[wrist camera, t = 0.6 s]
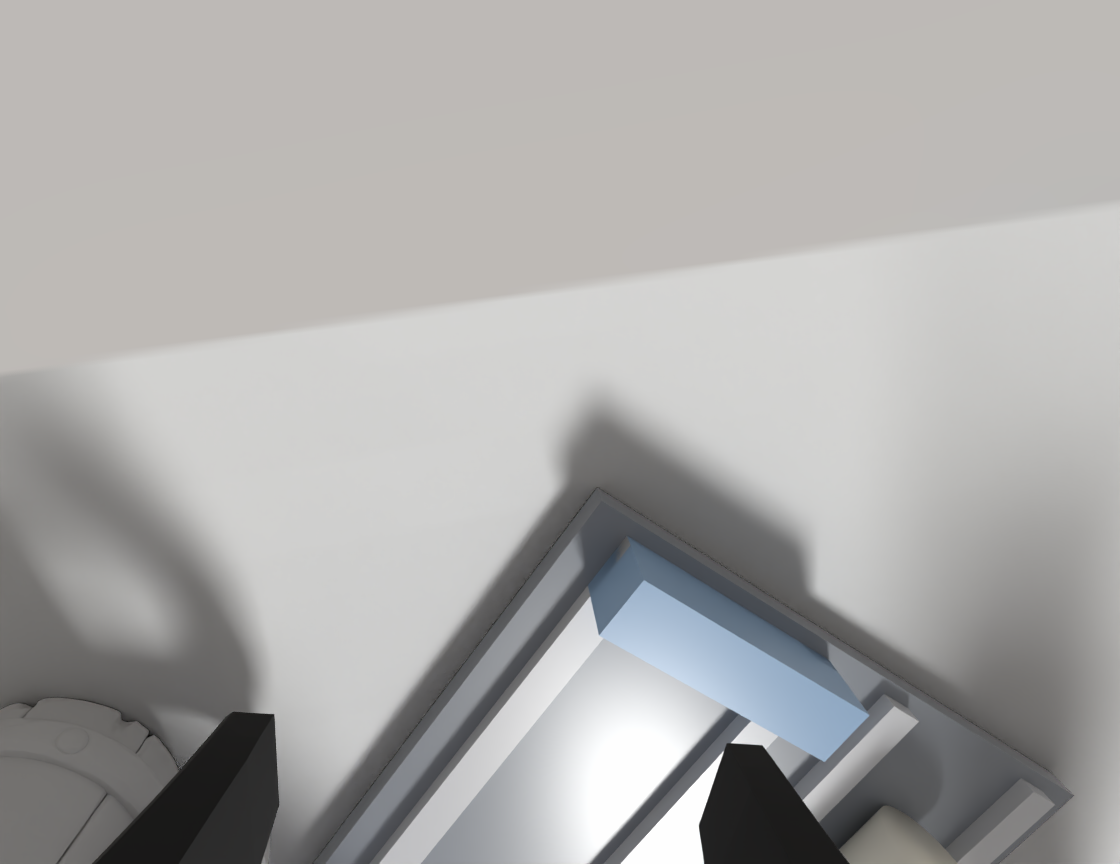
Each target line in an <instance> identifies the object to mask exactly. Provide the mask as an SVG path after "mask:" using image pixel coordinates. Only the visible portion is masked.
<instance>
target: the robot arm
mask: <svg viewBox="0 0 1120 864" xmlns="http://www.w3.org/2000/svg"><path fill="white" fill-rule="evenodd" d="M278 807H279V794H278V775H277V756H276V738H275V719H274V714H259V713H243V712H232V713H231V714H229V715H228V716H227V717H225V719H224V720H223V721H222V722H221V723H220V724H219V726H218V727H217V728H216V729H215V730H214V732H213V733H212V734H211V735H210V736H209V737H208V739H207V740H206V741H205V742H204V743H203V744H202V745H201V747H200V748H199V749H198V750H197V751H196V752H195V753H194V755H193V756H192V757H191V758H190V759H189V760H188V761H187V763H186V764H185V765H184V766H183V767H182V768H181V769H180V770H179V772H178V773H177V774H176V775H175V776H174V777H173V778H172V779H171V780H170V781H169V783H168V784H167V785H166V786H165V787H164V788H163V789H162V790H161V791H160V793H159V794H158V795H157V796H156V797H155V798H154V799H153V800H152V801H151V802H150V803H149V804H148V805H147V807H146V808H145V809H144V810H143V811H142V812H141V813H140V814H139V815H138V816H137V817H136V818H135V819H134V820H133V821H132V822H131V823H130V824H129V825H128V827H127V828H126V829H125V830H124V831H123V832H122V833H121V834H120V835H119V836H118V837H117V838H116V839H115V840H114V841H113V842H112V843H111V844H110V845H109V847H108V848H107V849H106V850H105V851H104V852H103V853H102V854H101V855H100V856H99V857H98V858H97V859H96V860H95V861H94V862H93V863H92V864H261V863H262V860H263V856H264V853H265V850H266V847H267V844H268V840H269V837H270V834H271V830H272V827H273V823H274V820H275V817H276V813H277V810H278ZM699 832H700V839H701V845H702V852H703V859H704V864H850V863H849V862H848V861H847V860H846V858H845V857H844V856H843V854H842V853H841V852H840V850H839V849H838V848H837V846H836V845H835V844H834V842H833V841H832V840H831V838H830V837H829V836H828V834H827V833H826V832H825V830H824V829H823V828H822V826H821V825H820V823H819V822H818V821H817V819H816V818H815V817H814V815H813V814H812V813H811V811H810V810H809V808H808V807H807V806H806V804H805V803H804V802H803V800H802V799H801V797H800V796H799V795H798V793H797V792H796V791H795V789H794V788H793V786H792V785H791V784H790V782H789V781H788V779H787V778H786V777H785V775H784V774H783V772H782V771H781V770H780V768H779V767H778V766H777V764H776V763H775V761H774V760H773V759H772V757H771V756H770V755H769V753H768V752H767V750H766V749H765V748H764V747H763V745H751V744H736V743H727V744H726V747H725V750H724V753H723V756H722V758H721V761H720V764H719V767H718V770H717V773H716V776H715V779H714V782H713V785H712V788H711V791H710V794H709V796H708V799H707V802H706V805H705V808H704V811H703V814H702V817H701V820H700V823H699Z"/></svg>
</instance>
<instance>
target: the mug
mask: <svg viewBox="0 0 1120 864" xmlns="http://www.w3.org/2000/svg"><path fill="white" fill-rule="evenodd" d="M148 734H149V731H148V729H147V728H145V727H144V726H143V725H141V724H140V723H139V722H137V721H134V722H125V721H123V720H122V719H121V713H120V712H119V711H117V710H115V709H112V708H109V707H106V706H103V705H100V704H96V703H92V702H88V701H84V700H75V699H69V698H45V699H41V700H40V701H39V702H38V703H37V704H36V706H35V707H34V708H33V707H30V706H28V705H26V704H20V703H15V704H12V705H9V706H7V707H4V708H2V709H0V864H92V863H93V862H94V861H95V860H96V859H97V858H98V857H99V856H100V855H101V854H102V853H103V852H104V851H105V850H106V849H107V848H108V847H109V845H110V844H111V843H112V842H113V841H114V840H115V839H116V838H117V837H118V836H119V835H120V834H121V833H122V832H123V831H124V830H125V829H126V828H127V827H128V825H129V824H130V823H131V822H132V821H133V820H134V819H135V818H136V817H137V816H138V815H139V814H140V813H141V812H142V811H143V810H144V809H145V808H146V807H147V805H148V804H149V803H150V802H151V801H152V800H153V799H154V798H155V797H156V796H157V795H158V794H159V793H160V791H161V790H162V789H163V788H164V787H165V786H166V785H167V784H168V783H169V781H170V780H171V779H172V778H173V777H174V776H175V775H176V774H177V773H178V772H179V770H178V768H177V765H176V763H175V760H174V759H173V757H172V756H171V754H170V753H169V751H168V750H167V748H166V747H165V746H164V745H163V744H162V742H161V741H160V739H159V738H157V737H156V736H155V735H153V736H151V737H149V738H147V739H146V737H147V736H148ZM270 847H271V834H270V837H269V840H268V844H267V847H266V850H265V853H264V856H263V860H262V863H261V864H268V862H269V856H270Z"/></svg>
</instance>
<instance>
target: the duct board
mask: <svg viewBox="0 0 1120 864" xmlns="http://www.w3.org/2000/svg"><path fill="white" fill-rule="evenodd" d="M727 743H736V744H751V745H763V747H764V748H765V749H766V750H767V752H768V753H769V755H770V756H771V757H772V759H773V760H774V761H775V763H776V764H777V766H778V767H779V768H780V770H781V771H782V772H783V774H784V775H785V777H786V778H787V779H788V781H789V782H790V784H791V785H792V786H793V788H794V789H795V791H796V792H797V793H798V795H799V796H800V797H801V799H802V800H803V802H804V803H805V804H806V806H807V807H808V808H809V810H810V811H811V813H812V814H813V815H814V817H815V818H816V819H817V821H818V822H819V823H820V825H821V826H822V828H823V829H824V830H825V832H826V833H827V834H828V836H829V837H830V838H831V840H832V841H833V842H834V844H835V845H836V846H837V848H838V849H840V848H841V847H842V846H843V845H844V844H845V843H846V842H847V841H848V840H849V839H850V838H851V837H852V836H853V835H854V834H855V833H856V832H857V831H858V830H859V829H860V828H861V827H862V826H863V825H864V824H865V823H866V822H867V821H868V820H869V819H870V818H871V817H872V816H873V815H874V814H875V813H876V812H877V811H878V810H879V809H880V808H881V807H883V806H886V805H887V806H891V807H894V808H896V809H897V810H899V811H901V812H903V813H905V814H906V815H908V816H909V817H910V818H912V819H913V820H914V821H916V822H917V823H918V824H919V825H921V826H922V827H923V828H924V829H925V830H926V831H927V832H928V833H929V834H931V835H932V836H933V837H934V838H935V839H936V840H937V841H938V842H939V843H940V844H941V845H942V846H943V847H944V849H945V850H946V851H947V852H948V853H949V854H950V855H951V856H952V857H953V858H954V860H955V861H956V862H957V863H958V864H999V863H1000V862H1001V861H1002V860H1003V859H1004V858H1005V857H1007V856H1008V855H1009V854H1010V853H1011V852H1012V851H1013V850H1014V849H1015V848H1016V847H1018V846H1019V845H1020V844H1021V843H1022V842H1023V841H1024V840H1025V839H1026V838H1028V837H1029V836H1030V835H1031V834H1032V833H1033V832H1034V831H1035V830H1036V829H1037V828H1039V827H1040V826H1041V825H1042V824H1043V823H1044V822H1045V821H1046V820H1047V819H1049V818H1050V817H1051V816H1052V815H1053V814H1054V813H1055V812H1056V811H1057V810H1059V809H1060V808H1061V807H1062V806H1063V805H1064V804H1065V803H1066V802H1067V801H1068V800H1070V799H1071V798H1072V797H1073V796H1074V795H1073V794H1072V793H1071V792H1070V791H1069V790H1068V789H1067V788H1066V787H1065V786H1064V785H1063V784H1062V783H1061V782H1060V781H1059V780H1058V779H1057V778H1056V777H1055V776H1054V775H1053V774H1052V773H1051V772H1049V771H1047V770H1046V769H1044V768H1043V767H1041V766H1040V765H1038V764H1036V763H1035V762H1033V761H1032V760H1030V759H1028V758H1027V757H1025V756H1024V755H1022V754H1020V753H1019V752H1017V751H1016V750H1014V749H1012V748H1011V747H1009V746H1008V745H1006V744H1005V743H1003V742H1001V741H1000V740H998V739H997V738H995V737H993V736H992V735H990V734H989V733H987V732H985V731H984V730H982V729H981V728H979V727H977V726H976V725H974V724H973V723H971V722H970V721H968V720H966V719H965V718H963V717H962V716H960V715H958V714H957V713H955V712H954V711H952V710H950V709H949V708H947V707H946V706H944V705H943V704H941V703H939V702H938V701H936V700H935V699H933V698H931V697H930V696H928V695H927V694H925V693H923V692H922V691H920V690H919V689H917V688H915V687H914V686H912V685H911V684H909V683H908V682H906V681H904V680H903V679H901V678H900V677H898V676H896V675H895V674H893V673H892V672H890V671H888V670H887V669H885V668H884V667H882V666H881V665H879V664H877V663H876V662H874V661H873V660H871V659H869V658H868V657H866V656H865V655H863V654H861V653H860V652H858V651H857V650H855V649H853V648H852V647H850V646H849V645H847V644H846V643H844V642H842V641H841V640H839V639H838V638H836V637H834V636H833V635H831V634H830V633H828V632H826V631H825V630H823V629H822V628H820V627H819V626H817V625H815V624H814V623H812V622H811V621H809V620H807V619H806V618H804V617H803V616H801V615H799V614H798V613H796V612H795V611H793V610H791V609H790V608H788V607H787V606H785V605H784V604H782V603H780V602H779V601H777V600H776V599H774V598H772V597H771V596H769V595H768V594H766V593H764V592H763V591H761V590H760V589H758V588H757V587H755V586H753V585H752V584H750V583H749V582H747V581H745V580H744V579H742V578H741V577H739V576H737V575H736V574H734V573H733V572H731V571H729V570H728V569H726V568H725V567H723V566H722V565H720V564H718V563H717V562H715V561H714V560H712V559H710V558H709V557H707V556H706V555H704V554H702V553H701V552H699V551H698V550H696V549H694V548H693V547H691V546H690V545H688V544H687V543H685V542H683V541H682V540H680V539H679V538H677V537H675V536H674V535H672V534H671V533H669V532H667V531H666V530H664V529H663V528H661V527H660V526H658V525H656V524H655V523H653V522H652V521H650V520H648V519H647V518H645V517H644V516H642V515H640V514H639V513H637V512H636V511H634V510H632V509H631V508H629V507H628V506H626V505H625V504H623V503H621V502H620V501H618V500H617V499H615V498H613V497H612V496H610V495H609V494H607V493H605V492H604V491H602V490H601V489H599V488H598V487H597V488H596V490H595V491H594V492H593V494H592V495H591V496H590V498H589V499H588V500H587V502H586V503H585V504H584V506H583V507H582V508H581V509H580V511H579V512H578V513H577V515H576V516H575V517H574V519H573V520H572V521H571V523H570V524H569V525H568V527H567V528H566V529H565V531H564V532H563V533H562V535H561V536H560V537H559V539H558V540H557V541H556V543H555V544H554V545H553V547H552V548H551V549H550V551H549V552H548V553H547V554H546V556H545V557H544V558H543V560H542V561H541V562H540V564H539V565H538V566H537V568H536V569H535V570H534V572H533V573H532V574H531V576H530V577H529V578H528V580H527V581H526V582H525V584H524V585H523V586H522V588H521V589H520V590H519V592H518V593H517V594H516V596H515V597H514V598H513V599H512V601H511V602H510V603H509V605H508V606H507V607H506V609H505V610H504V611H503V613H502V614H501V615H500V617H499V618H498V619H497V621H496V622H495V623H494V625H493V626H492V627H491V629H490V630H489V631H488V633H487V634H486V635H485V637H484V638H483V639H482V640H481V642H480V643H479V644H478V646H477V647H476V648H475V650H474V651H473V652H472V654H471V655H470V656H469V658H468V659H467V660H466V662H465V663H464V664H463V666H462V667H461V668H460V670H459V671H458V672H457V674H456V675H455V676H454V678H453V679H452V680H451V682H450V683H449V684H448V685H447V687H446V688H445V689H444V691H443V692H442V693H441V695H440V696H439V697H438V699H437V700H436V701H435V703H434V704H433V705H432V707H431V708H430V709H429V711H428V712H427V713H426V715H425V716H424V717H423V719H422V720H421V721H420V723H419V724H418V725H417V726H416V728H415V729H414V730H413V732H412V733H411V734H410V736H409V737H408V738H407V740H406V741H405V742H404V744H403V745H402V746H401V748H400V749H399V750H398V752H397V753H396V754H395V756H394V757H393V758H392V760H391V761H390V762H389V764H388V765H387V766H386V768H385V769H384V770H383V771H382V773H381V774H380V775H379V777H378V778H377V779H376V781H375V782H374V783H373V785H372V786H371V787H370V789H369V790H368V791H367V793H366V794H365V795H364V797H363V798H362V799H361V801H360V802H359V803H358V805H357V806H356V807H355V809H354V810H353V811H352V813H351V814H350V815H349V816H348V818H347V819H346V820H345V822H344V823H343V824H342V826H341V827H340V828H339V830H338V831H337V832H336V834H335V835H334V836H333V838H332V839H331V840H330V842H329V843H328V844H327V846H326V847H325V848H324V850H323V851H322V852H321V854H320V855H319V856H318V857H317V859H316V860H315V861H314V863H313V864H704V859H703V852H702V845H701V839H700V832H699V823H700V820H701V817H702V814H703V811H704V808H705V805H706V802H707V799H708V796H709V794H710V791H711V788H712V785H713V782H714V779H715V776H716V773H717V770H718V767H719V764H720V761H721V758H722V756H723V753H724V750H725V747H726V744H727Z"/></svg>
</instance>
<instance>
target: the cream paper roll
mask: <svg viewBox="0 0 1120 864" xmlns="http://www.w3.org/2000/svg"><path fill="white" fill-rule="evenodd" d="M839 850H840V852H841V853H842V854H843V856H844V857H845V858H846V860H847V861H848V862H849V863H850V864H958V863H957V862H956V861H955V860H954V858H953V857H952V856H951V855H950V854H949V853H948V852H947V851H946V850H945V849H944V847H943V846H942V845H941V844H940V843H939V842H938V841H937V840H936V839H935V838H934V837H933V836H932V835H931V834H929V833H928V832H927V831H926V830H925V829H924V828H923V827H922V826H921V825H919V824H918V823H917V822H916V821H914V820H913V819H912V818H910V817H909V816H908V815H906V814H905V813H903V812H901V811H899V810H897V809H896V808H894V807H891V806H887V805H886V806H883V807H881V808H880V809H879V810H878V811H877V812H876V813H875V814H874V815H873V816H872V817H871V818H870V819H869V820H868V821H867V822H866V823H865V824H864V825H863V826H862V827H861V828H860V829H859V830H858V831H857V832H856V833H855V834H854V835H853V836H852V837H851V838H850V839H849V840H848V841H847V842H846V843H845V844H844V845H843V846H842V847H841V848H840V849H839Z"/></svg>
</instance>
